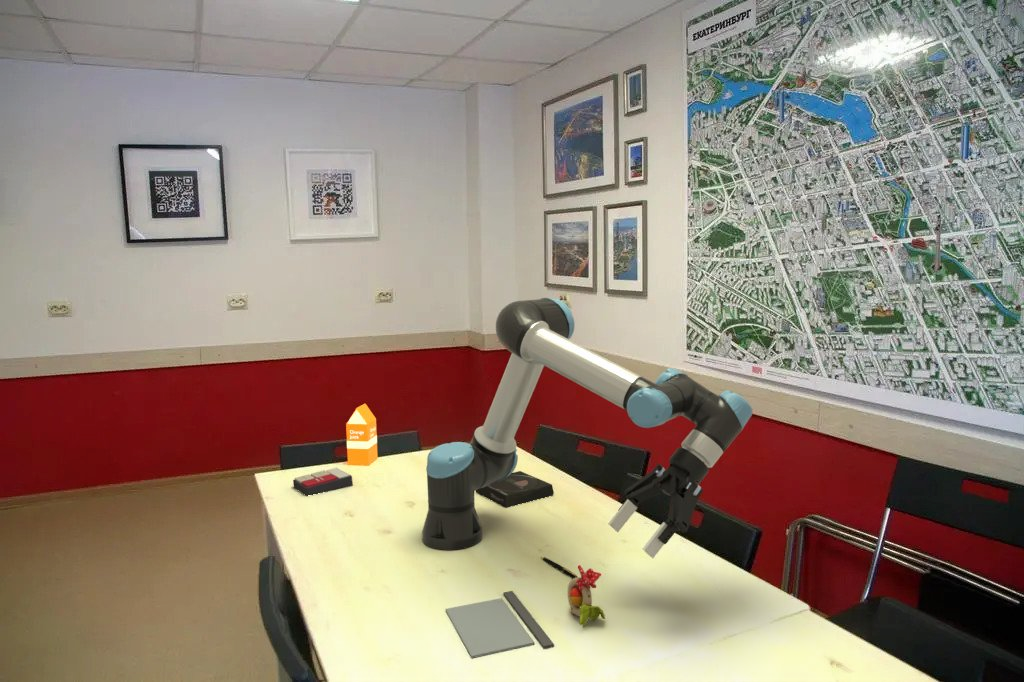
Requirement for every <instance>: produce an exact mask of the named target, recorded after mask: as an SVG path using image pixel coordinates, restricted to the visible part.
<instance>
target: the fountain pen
mask: <svg viewBox="0 0 1024 682" xmlns="http://www.w3.org/2000/svg"><path fill="white" fill-rule="evenodd" d="M540 559H542V560H543V561H544V562H546V564H548V565H550V566H551V565H552V566H551V567H553V568H554V569H556V568H557V569H556V570H558V571H560V572H561V571H562V572H563V574H564V575H566V576H568V577H569V576H570V578H571V577H572V579H573V578H576V577H579V576H578V575H577V574H575V573H574V572H572V571H571V570H569V569H568V568H566V567H565V566H564V567H563V566H562V565H561V564H559V563H557V562H555V561H554V560H551V559H549V558H547V557H545V556H541V555H540ZM562 572H561V573H562Z"/></svg>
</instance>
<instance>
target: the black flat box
mask: <svg viewBox="0 0 1024 682" xmlns="http://www.w3.org/2000/svg"><path fill="white" fill-rule="evenodd" d="M475 493H476V494H478V495H480V496H482V497H484V498H485V497H486V498H485V499H487V498H488V500H489V499H490V501H491V500H492V501H491V502H494V503H495V502H496V504H498V505H499V506H501V507H503V508H505V509H509V508H512V507H515V505H516V506H519V505H518V504H520V505H523V504H522V503H524V504H527V503H531V502H534V501H533V500H535V501H538V500H537V499H539V500H542V499H541V498H543V499H546V498H545V497H547V498H550V497H549V496H551V497H554V494H555V491H554V488H553V484H552V483H549V482H547V481H544V480H542V479H541V478H538V477H535V476H532V475H530V474H529V473H526V472H523V471H521V470H519V471H513V472H512V473H511V474H510V475H509V476H508V477H506V478H505V479H503V480H502V481H499V482H496V483H493V484H491V485H488V486H485V487H483V488H480V489H478V490H475ZM530 501H531V502H530ZM526 502H527V503H526ZM511 506H512V507H511Z"/></svg>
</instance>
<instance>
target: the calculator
mask: <svg viewBox="0 0 1024 682" xmlns="http://www.w3.org/2000/svg"><path fill="white" fill-rule="evenodd" d="M292 482H293V483H292V484H293V489H295V488H296V489H297V490H296V489H295V490H296V491H298V490H299V491H300V492H299V491H298V492H299V493H301V492H302V493H303V495H304V494H305V495H307V496H306V497H309V496H308V495H312V496H314V495H313V494H316V495H319V494H318V493H320V494H324V493H323V492H325V493H329V492H332V491H335V490H338V489H340V490H341V489H345V488H350V487H353V486H354V485H353V475H351V474H349V473H347V472H346V471H344V470H342V469H340V468H338V467H334V468H330V469H326V470H325V469H324V470H323V469H322V470H320V471H316V472H311V473H310V474H304V475H301V476H298V477H295V478H294V479H293V480H292ZM328 491H329V492H328ZM302 493H301V494H302ZM305 495H304V496H305Z"/></svg>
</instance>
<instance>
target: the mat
mask: <svg viewBox="0 0 1024 682" xmlns="http://www.w3.org/2000/svg"><path fill="white" fill-rule="evenodd" d="M502 595H503V597H505V599H506V600H507V601H508V603H509V604H510V606H511V607H512V608H513V610H514V611H515V612H516V614H517V615H518V616H519V617H520V619H521V620H522V622H523V623H524V625H525V626H526V627H527V628H528V630H529V631H530V632H531V635H533V636H534V638H535V639H536V640H537V642H538V643H539V644H540V646H541V648H543V649H544V650H545V649H549V648H550V649H551V648H553V647H555V643H554V642H553V641H552V640H551V638H550V637H549V636H548V634H547V633H546V632H545V631H544V629H543V628H542V627H541V625H540V624H539V623H538V621H536V619H535V617H533V615H532V614H531V613H530V612H529V610H528V609H527V608H526V606H525V605H524V604H523V602H522V601H521V600H520V599H519V598H518V596H517V595H516V594H515V592H514V591H513V590H510V591H509V590H508V591H505V592H503V594H502ZM510 606H508V604H507V602H506V601H505V600H504V599H503V598H502V597H501V598H495V599H490V600H483V601H479V602H475V603H468V604H464V605H459V606H453V607H448V608H445V612H446V614H447V616H448V618H449V619H450V621H451V624H452V625H453V627H454V628H455V630H456V632H457V634H458V636H459V638H460V639H461V641H462V643H463V645H464V647H465V648H466V650H467V653H468V654H469V656H470V657H471V659H474V658H475V659H476V658H479V657H483V656H487V655H492V654H497V653H501V652H506V651H511V650H514V649H520V648H524V647H528V646H529V647H530V646H532V645H535V641H534V639H533V638H532V637H531V636H530V633H528V632H527V630H526V629H525V627H524V626H523V624H522V623H521V622H520V620H519V619H518V618H517V616H516V615H515V613H514V612H513V611H512V610H511V608H510Z"/></svg>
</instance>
